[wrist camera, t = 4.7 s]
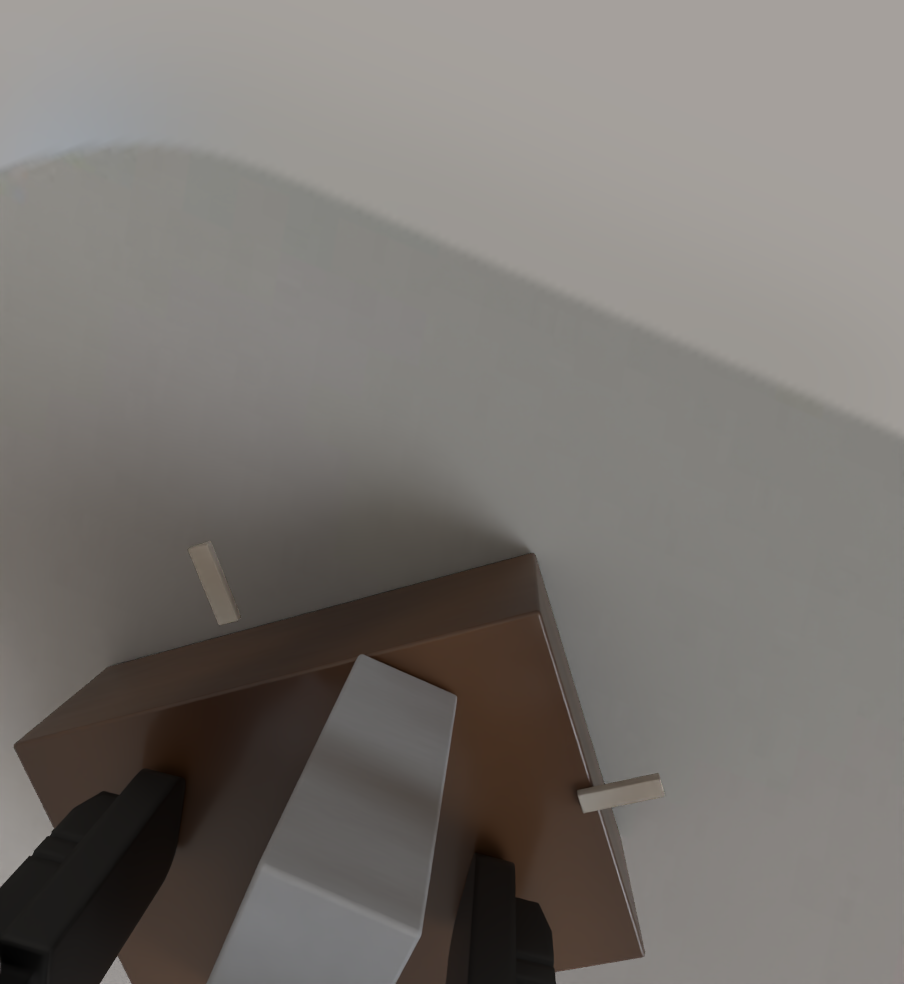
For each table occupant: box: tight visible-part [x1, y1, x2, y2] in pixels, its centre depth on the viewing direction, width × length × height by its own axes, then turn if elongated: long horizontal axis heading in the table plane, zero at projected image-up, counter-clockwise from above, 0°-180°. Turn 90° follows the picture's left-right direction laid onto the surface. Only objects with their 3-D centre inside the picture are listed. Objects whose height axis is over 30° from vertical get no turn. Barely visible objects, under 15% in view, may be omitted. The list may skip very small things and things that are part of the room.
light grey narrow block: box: [206, 654, 457, 984], centre depth 10 cm, size 8×2×5 cm, turn 157°
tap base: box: [14, 541, 665, 984], centre depth 14 cm, size 12×12×3 cm
